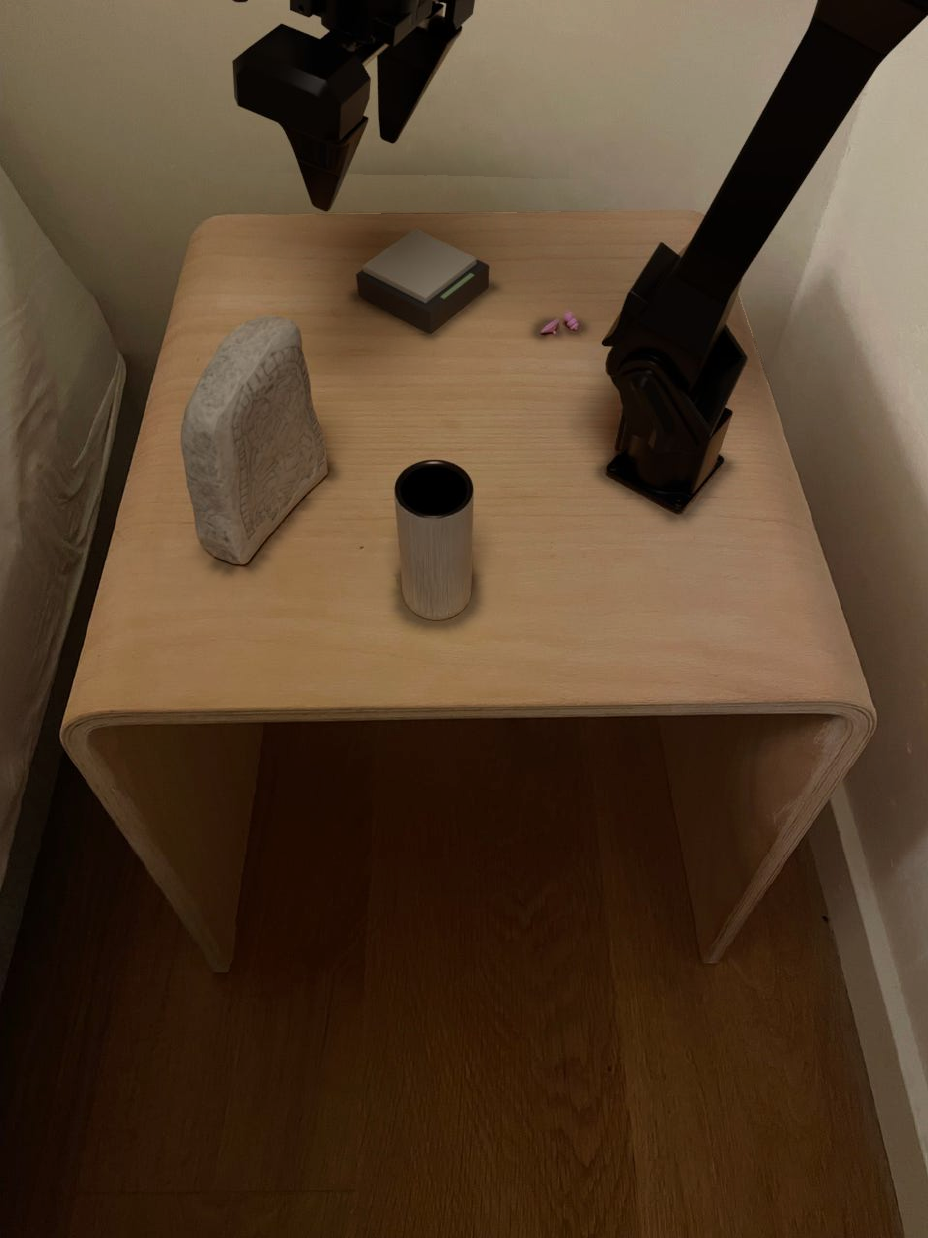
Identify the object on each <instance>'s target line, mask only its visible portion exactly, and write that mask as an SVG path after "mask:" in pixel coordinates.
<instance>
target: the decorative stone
mask: <svg viewBox="0 0 928 1238" xmlns="http://www.w3.org/2000/svg"><path fill="white" fill-rule="evenodd" d="M306 361H307V360H306V357H305V353H304V351H303V340H302V333H301V330H300V328H299V326H298V325H297V323H296V322H295V321H294V320H293V319H290V318H289V317H288V318H287V317H282V316H275V315H261V316H256V317H255V318H253V319H250V320H247V321H245V322H243V323H240V324H239V325H237V327H236V328H234V330H232V331H231V332H230V333H229V334H228V335H227V336H225V337H224V338H223V339H222V341H221V342H220V344H219V346H218V348H217V349H216V352H215V353H214V354H213V356H212V358H211V359H210V361H209V363H208V364H207V366H206V367H205V368H204V371H203V372H202V373H201V376H200V378H199V379H198V381H197V383H196V385H195V387H194V388H193V391H192V393H191V395H190V397H189V399H188V401H187V403H186V405H185V407H184V408H185V409H184V413H183V417H182V421H181V426H180V427H181V429H180V449H181V453H182V459H183V465H184V472H185V481H186V487H187V490H188V495H189V498H190V502H191V506H192V512H193V518H194V529H195V534H196V536H197V539H198V541H199V544H200V545H201V546H202V547H203V548H204V550H206V551H207V552H208V553H209V554H210V555H211V556H212V557H214V558H217V559H219V560H221V561H226V562H229V563H230V564H234V565H245V564H248V563H249V562H250V560H251V559H252V558H253V556H254V555H255V554H256V553H257V551H258V550H259V549H260V547H261V546H262V544H263V543H264V542H265V541H266V539H267V538H268V537H269V536H271V534H272V533H274V532H275V531H276V530H277V528H278V526H279V525H280V524H282V523H283V521H284V520H285V518H286V517H287V516H288V514H289V513H290V512H291V511H292V510H293V509H294V508H295V507H296V506H297V504H299V502H301V500H302V499H303V498H304V497H305V496H306V495H307V494H308V493H309V492H310V491H311V490H312V489H313V488H314V487H316V486H317V485H318V484H319V483H320V482H321V481H322V480H323V479H324V478H325V477H326V476H327V475H328V472H329V471H328V459H327V451H326V450H327V449H326V440H325V436H324V433H323V428H322V426H321V424H320V422H319V419H318V416H317V413H316V410H315V405H314V401H313V397H312V387H311V386H312V385H311V384H312V383H311V379H310V373H309V369H308V365H307V362H306Z"/></svg>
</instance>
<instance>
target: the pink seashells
mask: <svg viewBox="0 0 928 1238" xmlns="http://www.w3.org/2000/svg"><path fill="white" fill-rule="evenodd" d="M562 319H563V320H564V321H565V322H566V325H567V327H569V329H570V330H574V331H577V330H578V329H579V322H578V320H577V318H576V317H574V314H573V312H572V311H570V310H568V311H566V312H565V313H564V314H563V315H562ZM559 321H560V318H556V319H554V320H552V321H551V322H548V323H547V324H546V325H545V326H544V327H543V328H542V329H541V330H540V334H543V333H553V334H554V335H556V334H557V332H556V329H557V326H558V324H559Z"/></svg>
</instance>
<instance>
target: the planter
mask: <svg viewBox="0 0 928 1238" xmlns="http://www.w3.org/2000/svg"><path fill="white" fill-rule="evenodd" d="M393 491H394V492H393V493H394V505H395V506H394V507H395V519H396V530H397V531H396V532H397V541H398V553H399V563H400V564H399V566H400V576H401V577H400V578H401V590H402V595H403V596H402V597H403V600H404V602H405V604H406V606H407V607H408V609H409V610H410V611H411V612H412V613H414V614H415V615H417V616H418V617H421V618H423V619H426V620H432V621H443V620H448V619H450V618H453V617H455V616H457V615H458V614H460V613H462V611H463V610H464V609H466V607H467V606H468V604H469V603H470V600H471V595H472V583H473V582H472V577H473V538H474V537H473V536H474V535H473V534H474V497H475V496H474V495H475V490H474V483H473V480H472V477H471V476H470V475H469V473H468V471H466V470H465V469H463V468H462V467H461V466H459V465H458V464H456V463H453V462H451V461H448V460H443V459H425V460H420V461H418V462H415V463H413V464H411V465H409V466H407V467H406V468H405V469H404V470H402V471H401V473H399V475H398V477H397V478H396V480H395V483H394V488H393Z"/></svg>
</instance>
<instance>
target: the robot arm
mask: <svg viewBox="0 0 928 1238" xmlns="http://www.w3.org/2000/svg"><path fill="white" fill-rule="evenodd" d="M231 1H232V2H234V3H247V2H248V1H249V0H231ZM475 2H476V0H289V11H291V12H293V13H295V14H298V15H300V16H303V17H306V18H308V19H309V18H311V17H312V16H314V17H315V16H316V17H318V18H320V24H321V26H322V27H324V28H325V29H326V30H328V32H327V33H325V34H324V35H323V36H322V37H320V38H318V37H317V36H314V35H311V34H309V33H307V32H305V31H302V30H299V29H296V28H294V27H293V26H292V27H291V26H289V25H287V24H285V23H279V24H278V25H277V26H276V27H274V28H273V29H271V30H270V31H268V32H267V33H266V34H265V35H263V36H261V38H259V39H258V40H257V41H256V42H254V43H253V44H252V45H250V46H249V47H248V48H246V49H245V50H244V51H243V52H241V53H239V55H238V56H236V57H235V58H234V59H233V60H232V61H231V62H232V65H231V66H232V81H233V98H234V100H235V102H236V106H237V107H239V108H242V109H244V110H246V111H248V112H252V113H253V114H256V115H258V116H260V117H263V118H266V119H268V120H270V121H273V122H275V123H277V124H278V125H279V126H280V127H281V129H283V132H284V134H285V135H286V137H287V140H288V142H289V144H290V146H291V149H292V151H293V154H294V157H295V160H296V163H297V165H298V169H299V171H300V174H301V177H302V180H303V183H304V185H305V188H306V191H307V194H308V198H309V200H310V203H311V205H312V206H313V207H314V208H316V209H318V210H321V211H323V212H327V213H328V212H329V211H330V210H331V209H332V207H333V206H334V203H335V200H336V198H337V196H338V194H339V191H340V189H341V187H342V185H343V182H344V180H345V178H346V175H347V172H348V171H349V168H350V165H351V163H352V161H353V159H354V156H355V153H356V151H357V150H358V147H359V145H360V142H361V140H362V138H363V135H364V132H365V130H366V128H367V125H368V123H369V119H370V118H369V117H368V116H366V115H365V112H366V109H367V107H368V104H369V101H370V98H371V97H370V96H371V85H372V84H371V83H372V77H371V75H370V74H369V73H368V71H367V69H366V68H365V67H367V66H368V65H369V64H370V63H371V62H372V61H374V60H375V59H376V71H377V72H376V73H377V75H376V76H377V116H378V129H379V137H380V139H381V140H382V141H385V142H387V143H389V144H391V145H393V144H396V143H397V141H398V140H399V139H400V136H401V135H402V133H403V132H404V130H405V128H406V126H407V124H408V122H409V121H410V119H411V117H412V115H413V114H414V112H415V110H416V108H417V107H418V105H419V104H420V101H421V100H422V98H423V96H424V94H425V93H426V91H427V89H428V88H429V86H430V84H431V83H432V81H433V79H434V78H435V76H436V74H437V72H438V71H439V69H440V67H441V66H442V64H443V62H444V61H445V59H446V58H447V55H448V54H449V52H450V51H451V49H452V47H453V46H454V44H455V42H456V41H457V39H458V38H459V37H460V36H461V34H462V32H463V24H464V23H465V22H466V21H468V20H469V19H470V18H471V17H472V16H473V14H474V10H475ZM444 4H445V5H444ZM927 17H928V0H816V3H815V7H814V11H813V14H812V17H811V19H810V21H809V25H808V27H807V28H806V31H805V33H804V35H803V36H802V38H801V40H800V42H799V43H798V46H797V48H796V50H795V51H794V53H793V55H792V57H791V58H790V60H789V62H788V64H787V66H786V68H785V69H784V70H783V73H782V74H781V77H780V79H779V80H778V82H777V84H776V86H775V87H774V89H773V91H772V93H771V95H770V97H769V99H768V100H767V102H766V104H765V106H764V107H763V109H762V111H761V113H760V115H759V117H758V118H757V120H756V121H755V124H754V126H753V127H752V129H751V131H750V133H749V135H748V137H747V138H746V139H745V141H744V143H743V146H742V147H741V149H740V151H739V153H738V154H737V157H736V158H735V160H734V162H733V164H732V165H731V167H730V169H729V170H728V173H727V174H726V177H725V178H724V180H723V182H722V183H721V185H720V187H719V189H718V191H717V193H716V194H715V197H714V198H713V200H712V202H711V204H710V205H709V207H708V209H707V211H706V212H705V214H704V217H703V218H702V220H701V222H700V224H699V225H698V227H697V228H696V231H695V232H694V234H693V236H692V238H691V240H690V241H689V242H688V243H687V244H686V245H685V246H684V247H683V249H681V250H680V251H679V252H678V253H677V252H676V251H674V250H673V249H672V248H670V246H668V245H667V244H665V243H664V242H662V241H660V242H659V243H658V245H657V247H656V248H655V249H654V251H653V253H652V254H651V256H650V258H649V259H648V261H647V262H646V264H645V266H644V267H643V269H642V270H641V272H640V273H639V275H638V277H637V278H636V279H635V281H634V283H633V285H632V286H631V287H630V289H629V291H628V292H627V294H626V297H625V300H624V302H623V305H622V308H621V310H620V313H619V314H618V316H617V317H616V319H615V321H613V324H612V325H611V327H610V328H609V330H608V332H607V333H606V334H605V336H604V338H603V339H602V341H601V345H602V347H610V350H609V351H608V352H607V355H606V359H605V373H606V375H607V376H608V377H609V378H610V380H611V382H612V385H613V386H614V387H615V388H616V389H617V391H618V393H619V399H620V403H621V407H622V408H621V411H620V415H619V421H618V425H617V431H616V435H615V441H614V445H613V449H614V451H615V452H616V453H617V454H616V455H615V456H614V457H613V458H612V459H611V461H609V462H608V464H607V465H606V467H605V474H606V476H608V477H610V478H611V479H613V480H615V481H617V482H618V483H621V484H622V485H624V486H626V487H628V488H630V489H631V490H634V491H635V492H637V493H639V494H641V495H643V496H644V497H646V498H647V499H650V500H652V501H653V502H655V503H657V504H659V505H661V506H662V507H665V508H666V509H668V510H670V511H672V512H674V513H676V514H681V513H683V512H684V511H686V509H687V508H688V507H689V506H690V505H691V504H692V502H693V501H694V499H696V498H697V497H698V495H699V494H700V493H701V491H703V489H704V488H705V487H706V486H707V484H708V483H709V482H710V481H711V480H712V479H713V478H714V476H715V475H716V474H717V473H718V472H719V470H721V468H722V467H723V465H724V463H725V458H724V456H723V455H722V454H720V452H721V449H722V446H723V443H724V441H725V437H726V435H727V432H728V429H729V426H730V423H731V420H732V418H733V414H734V411H733V410H732V409H731V408H729V407H726V406H727V404H728V402H729V400H730V399H731V396H732V394H733V392H734V390H735V388H736V386H737V384H738V382H739V379H740V377H741V376H742V373H743V371H744V370H745V367H746V366H747V363H748V361H749V357H748V355H747V354H746V352H745V351H744V349H743V348H742V346H741V344H740V343H739V342H738V340H737V339H736V337H735V336H734V334H733V332H732V331H731V329H730V328H729V326H728V325H727V321H728V319H729V317H730V314H731V311H732V309H733V307H734V304H735V301H736V299H737V296H738V293H739V290H740V287H741V285H742V281H743V277H745V275H746V273H747V272H748V270H749V268H750V267H751V265H752V264H753V262H754V260H755V259H756V257H757V256H758V254H759V253H760V251H761V249H762V248H763V246H764V245H765V243H766V242H767V240H768V238H769V237H770V235H771V234H772V232H773V231H774V229H775V228H776V226H777V225H778V223H779V221H780V220H781V218H782V217H783V216H784V214H785V212H786V210H787V208H789V206H790V204H791V202H792V201H793V200H794V198H795V197H796V195H797V193H798V192H799V190H800V188H801V187H802V186H803V184H804V183H805V181H806V179H807V178H808V176H809V175H810V173H811V171H812V170H813V168H814V167H815V166H816V164H817V162H818V161H819V159H820V157H821V156H822V154H823V153H824V151H825V149H826V148H827V146H828V145H829V144H830V142H831V140H832V139H833V137H834V136H835V134H836V133H837V131H838V129H839V128H840V126H841V124H842V123H843V121H845V118H846V117H847V115H848V114H849V112H850V111H851V108H852V107H853V106H854V104H855V102H856V101H857V100H858V98H859V96H860V95H861V93H862V92H863V91H864V89H865V87H866V85H867V84H868V82H869V81H870V79H871V78H872V76H873V74H874V73H875V71H876V70H877V68H878V67H879V66H880V65H881V63H882V62H883V61H885V59H886V58H887V56H888V55H890V54H891V53H892V52H893V51H894V50H895V48H896V47H897V46H898V45H900V43H902V41H903V40H905V38H907V37H908V36H909V35H910V34H911V33H912V31H914V30H915V29H916V28H917V27H918V26H919V25H920V24H921V23H922V22H923V21H924V20H925V19H926V18H927Z"/></svg>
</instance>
